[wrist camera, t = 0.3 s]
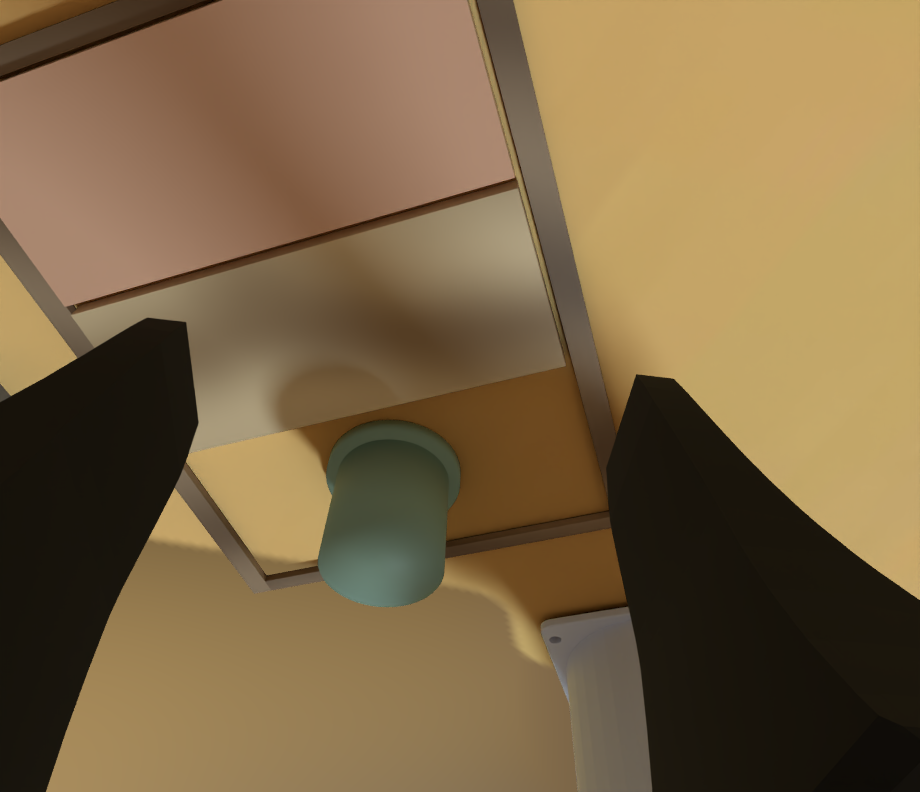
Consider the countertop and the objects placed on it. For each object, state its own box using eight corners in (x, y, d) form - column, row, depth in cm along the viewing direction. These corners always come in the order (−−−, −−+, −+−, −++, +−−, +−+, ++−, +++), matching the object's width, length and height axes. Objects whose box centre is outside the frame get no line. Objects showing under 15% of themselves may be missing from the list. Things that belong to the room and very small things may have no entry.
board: (635, 517, 28) (638, 529, 27) (255, 587, 31) (252, 599, 31) (480, -138, 16) (480, -137, 15) (-115, 88, 19) (-130, 95, 18)
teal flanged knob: (476, 502, 28) (475, 601, 24) (358, 525, 29) (340, 624, 25) (436, 406, 25) (428, 501, 21) (307, 435, 26) (279, 531, 22)
